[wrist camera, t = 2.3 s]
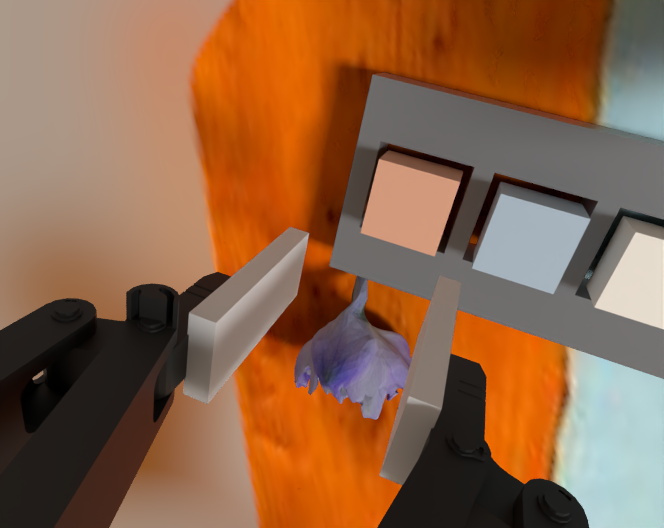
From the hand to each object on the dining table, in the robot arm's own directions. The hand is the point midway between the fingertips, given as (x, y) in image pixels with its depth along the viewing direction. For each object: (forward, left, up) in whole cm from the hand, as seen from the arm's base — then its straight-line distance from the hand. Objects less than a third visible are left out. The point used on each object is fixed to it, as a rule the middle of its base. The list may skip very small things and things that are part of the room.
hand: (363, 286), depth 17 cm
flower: (+11, -1, -15) cm, 19 cm away
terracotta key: (0, 0, -12) cm, 12 cm away
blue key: (0, +7, -12) cm, 14 cm away
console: (0, +6, -15) cm, 16 cm away
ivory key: (0, +13, -12) cm, 18 cm away
